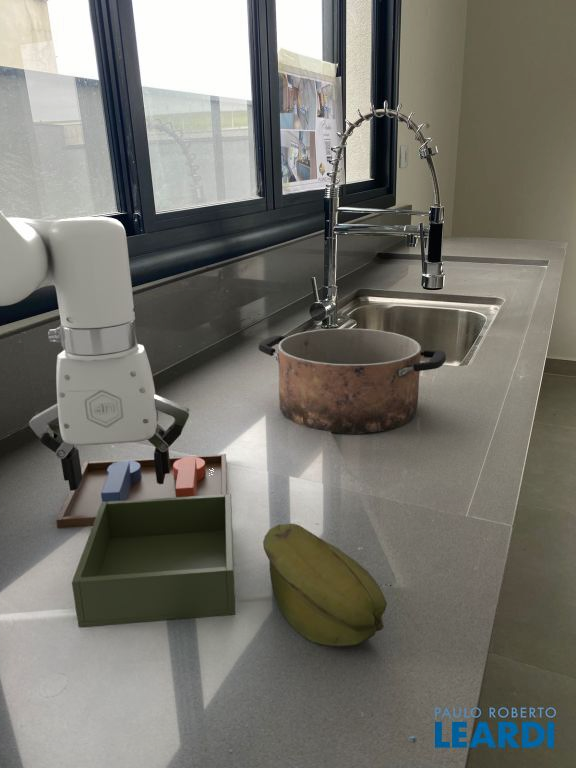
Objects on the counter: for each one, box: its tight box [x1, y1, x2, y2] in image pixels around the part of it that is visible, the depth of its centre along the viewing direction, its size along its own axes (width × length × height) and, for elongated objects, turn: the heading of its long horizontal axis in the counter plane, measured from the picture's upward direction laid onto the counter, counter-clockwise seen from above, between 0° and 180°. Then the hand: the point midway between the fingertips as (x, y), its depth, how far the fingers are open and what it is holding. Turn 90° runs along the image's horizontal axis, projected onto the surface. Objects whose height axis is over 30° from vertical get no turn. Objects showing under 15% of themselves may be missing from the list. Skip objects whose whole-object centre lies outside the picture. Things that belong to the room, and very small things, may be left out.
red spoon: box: [173, 457, 206, 497], centre depth 72 cm, size 4×11×3 cm, turn 6°
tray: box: [55, 453, 228, 529], centre depth 72 cm, size 18×14×1 cm
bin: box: [71, 493, 236, 628], centre depth 57 cm, size 13×13×4 cm
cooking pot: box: [257, 327, 447, 435], centre depth 97 cm, size 30×22×11 cm
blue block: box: [101, 461, 142, 502], centre depth 72 cm, size 4×11×3 cm, turn 6°
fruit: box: [262, 523, 388, 647], centre depth 51 cm, size 11×12×7 cm
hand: (119, 481), depth 70 cm, fingers open, 9 cm apart
